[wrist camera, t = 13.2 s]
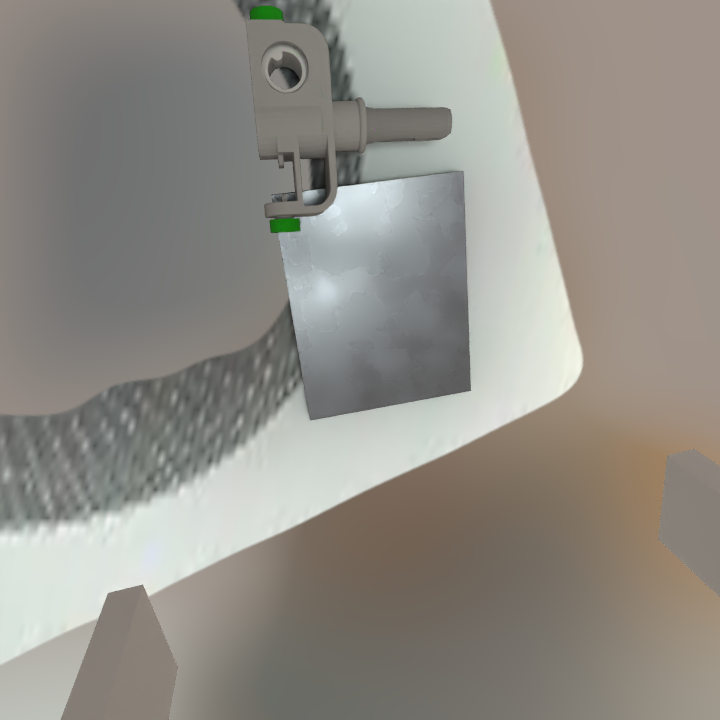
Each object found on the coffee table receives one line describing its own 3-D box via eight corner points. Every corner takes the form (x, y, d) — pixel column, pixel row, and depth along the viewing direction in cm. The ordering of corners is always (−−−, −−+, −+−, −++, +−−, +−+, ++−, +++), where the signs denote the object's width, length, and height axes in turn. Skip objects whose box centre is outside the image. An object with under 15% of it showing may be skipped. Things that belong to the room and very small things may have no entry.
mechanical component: (440, 224, 29) (267, 233, 27) (436, 27, 26) (247, 27, 25) (458, 221, 26) (265, 231, 25) (455, 0, 24) (242, -3, 22)
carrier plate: (271, 194, 28) (271, 195, 27) (457, 171, 29) (463, 171, 28) (308, 413, 33) (310, 420, 32) (465, 384, 34) (470, 390, 33)
